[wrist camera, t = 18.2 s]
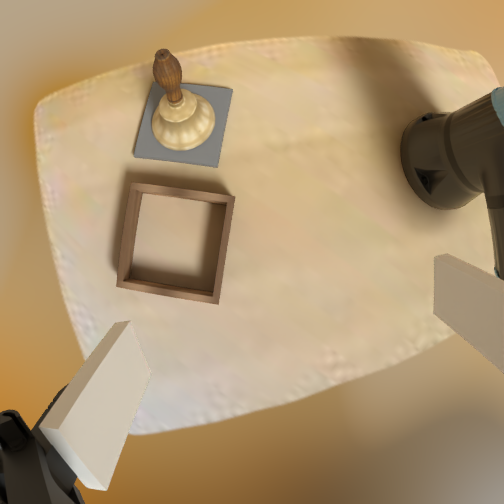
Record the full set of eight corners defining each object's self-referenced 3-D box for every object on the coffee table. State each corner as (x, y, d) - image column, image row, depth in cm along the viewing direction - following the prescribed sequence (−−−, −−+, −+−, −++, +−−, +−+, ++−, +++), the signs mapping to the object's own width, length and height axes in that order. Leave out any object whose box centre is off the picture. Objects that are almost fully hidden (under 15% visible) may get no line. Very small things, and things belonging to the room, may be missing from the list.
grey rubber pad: (232, 91, 38) (232, 89, 37) (217, 167, 38) (217, 166, 38) (154, 84, 37) (153, 81, 36) (135, 157, 37) (133, 156, 37)
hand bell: (167, 86, 37) (141, 15, 21) (225, 103, 37) (225, 31, 21) (141, 140, 37) (96, 87, 21) (200, 159, 37) (184, 109, 21)
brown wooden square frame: (234, 199, 39) (235, 196, 36) (219, 299, 39) (218, 304, 36) (138, 186, 38) (131, 182, 35) (123, 283, 38) (116, 286, 35)
